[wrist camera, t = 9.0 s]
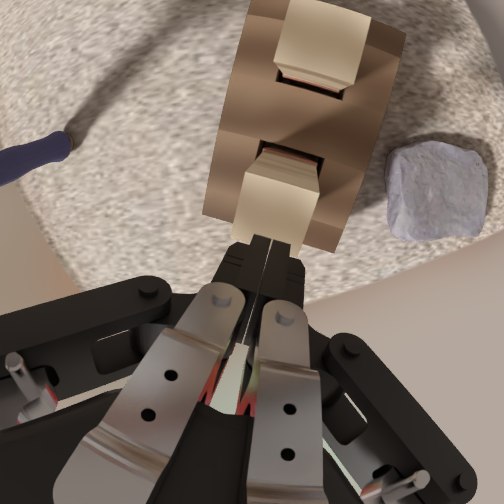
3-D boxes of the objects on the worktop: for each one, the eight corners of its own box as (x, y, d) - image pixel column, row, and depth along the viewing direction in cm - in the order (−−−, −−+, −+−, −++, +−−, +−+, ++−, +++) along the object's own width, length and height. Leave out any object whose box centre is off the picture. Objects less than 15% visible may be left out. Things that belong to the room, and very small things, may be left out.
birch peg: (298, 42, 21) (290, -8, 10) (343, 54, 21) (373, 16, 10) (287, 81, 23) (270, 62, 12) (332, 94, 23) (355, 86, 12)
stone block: (376, 143, 27) (384, 236, 30) (389, 140, 22) (397, 248, 25) (468, 142, 24) (472, 228, 27) (490, 141, 20) (493, 238, 23)
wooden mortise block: (265, 10, 21) (254, -10, 15) (387, 46, 20) (406, 33, 15) (220, 193, 31) (202, 214, 26) (329, 225, 30) (333, 253, 25)
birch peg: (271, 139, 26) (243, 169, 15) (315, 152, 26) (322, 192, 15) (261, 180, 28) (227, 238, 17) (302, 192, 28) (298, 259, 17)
